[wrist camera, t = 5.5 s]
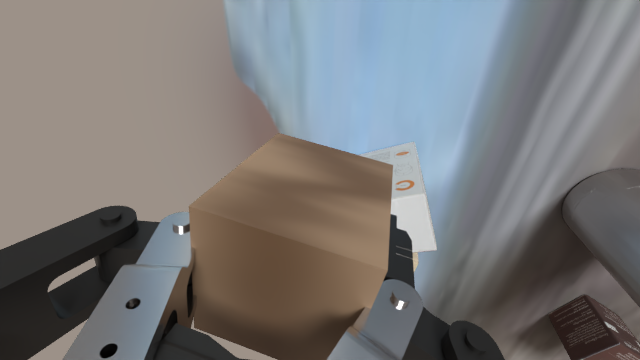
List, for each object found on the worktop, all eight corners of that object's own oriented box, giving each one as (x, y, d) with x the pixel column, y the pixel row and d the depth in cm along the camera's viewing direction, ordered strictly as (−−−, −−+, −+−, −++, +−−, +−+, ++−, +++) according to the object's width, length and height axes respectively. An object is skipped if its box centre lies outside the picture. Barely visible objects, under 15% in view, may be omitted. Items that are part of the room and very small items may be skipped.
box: (619, 315, 39) (662, 369, 33) (578, 334, 42) (610, 388, 36) (584, 292, 39) (621, 343, 33) (545, 313, 42) (572, 364, 36)
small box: (365, 196, 40) (353, 261, 29) (352, 155, 38) (333, 208, 26) (425, 185, 37) (438, 252, 26) (415, 140, 35) (425, 192, 24)
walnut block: (393, 164, 12) (387, 271, 6) (361, 254, 14) (338, 382, 9) (278, 132, 12) (189, 205, 7) (266, 223, 15) (194, 327, 10)
